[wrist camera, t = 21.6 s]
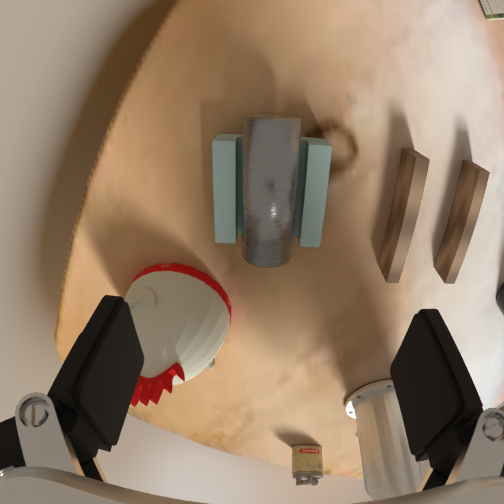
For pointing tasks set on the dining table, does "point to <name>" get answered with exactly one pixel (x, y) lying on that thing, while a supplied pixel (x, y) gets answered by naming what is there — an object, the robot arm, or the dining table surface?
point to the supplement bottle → (501, 299)
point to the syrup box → (493, 9)
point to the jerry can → (307, 464)
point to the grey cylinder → (269, 186)
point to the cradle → (308, 191)
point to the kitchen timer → (176, 326)
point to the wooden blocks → (407, 212)
